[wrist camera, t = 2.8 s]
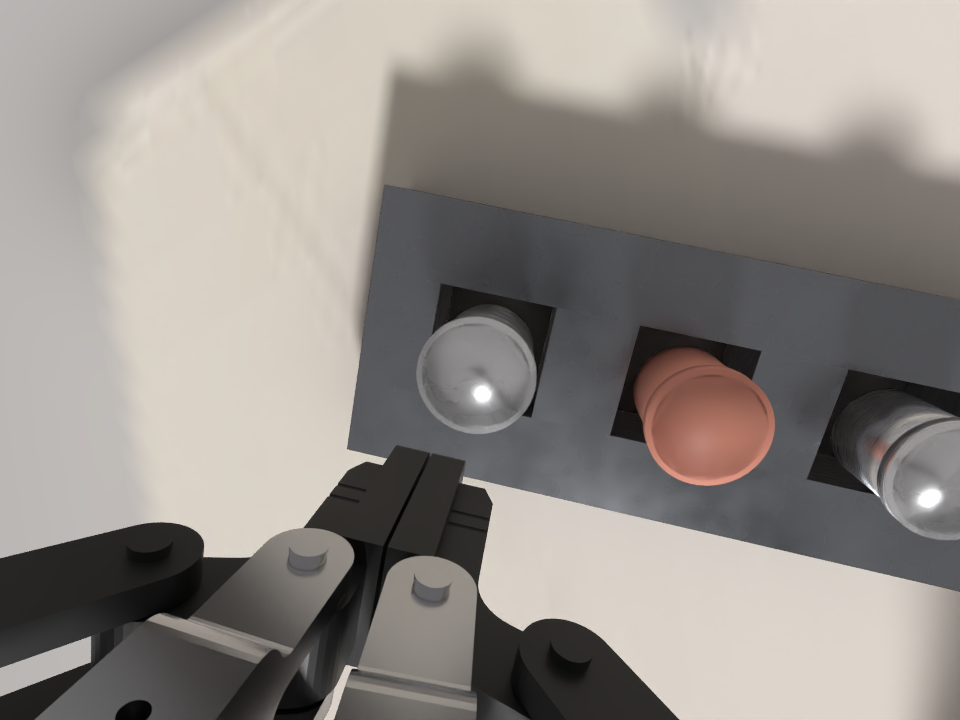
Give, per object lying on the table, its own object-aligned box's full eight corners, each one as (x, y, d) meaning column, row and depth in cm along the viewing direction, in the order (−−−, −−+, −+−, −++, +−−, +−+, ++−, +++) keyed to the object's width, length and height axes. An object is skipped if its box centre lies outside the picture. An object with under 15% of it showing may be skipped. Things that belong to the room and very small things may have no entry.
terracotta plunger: (748, 353, 24) (792, 383, 19) (716, 448, 25) (752, 497, 20) (643, 331, 24) (664, 356, 20) (617, 426, 25) (631, 470, 21)
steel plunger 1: (548, 311, 24) (548, 332, 20) (526, 406, 25) (522, 445, 21) (448, 290, 24) (426, 306, 20) (431, 385, 26) (407, 419, 21)
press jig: (407, 189, 27) (384, 184, 23) (1012, 310, 25) (1096, 327, 21) (372, 419, 30) (346, 449, 26) (908, 541, 28) (964, 592, 25)
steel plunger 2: (956, 397, 23) (1050, 439, 19) (914, 492, 24) (994, 552, 20) (847, 374, 23) (915, 410, 19) (810, 469, 25) (867, 524, 20)
